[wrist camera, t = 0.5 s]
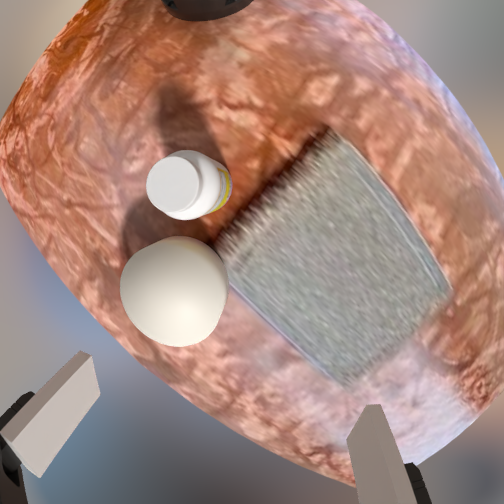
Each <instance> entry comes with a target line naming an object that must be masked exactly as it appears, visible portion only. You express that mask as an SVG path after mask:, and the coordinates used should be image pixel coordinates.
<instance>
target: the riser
mask: <svg viewBox="0 0 504 504" xmlns="http://www.w3.org/2000/svg"><path fill="white" fill-rule="evenodd" d="M120 294H121V299H122V303H123V306H124V308H125V311H126V313H127V315H128V317H129V318H130V320H131V321H132V322H133V324H134V325H135V326H136V327H137V328H138V329H139V330H140V331H141V332H142V333H143V334H145V335H146V336H148V337H149V338H151V339H152V340H154V341H156V342H159V343H162V344H165V345H169V346H176V347H180V346H189V345H193V344H196V343H198V342H200V341H202V340H203V339H205V338H206V337H207V336H208V335H210V333H211V332H212V331H213V330H214V328H215V327H216V325H217V323H218V320H219V318H220V316H221V313H222V311H223V308H224V306H225V303H226V301H227V298H228V294H229V279H228V274H227V271H226V268H225V266H224V264H223V262H222V260H221V259H220V257H219V256H218V255H217V253H216V252H215V251H214V250H213V249H212V248H210V247H209V246H208V245H207V244H205V243H203V242H202V241H200V240H197V239H195V238H192V237H187V236H171V237H167V238H164V239H162V240H160V241H158V242H156V243H154V244H151V245H149V246H147V247H145V248H143V249H141V250H139V251H138V252H136V253H135V254H134V255H133V256H132V257H131V258H130V259H129V260H128V262H127V263H126V265H125V267H124V269H123V272H122V275H121V280H120Z"/></svg>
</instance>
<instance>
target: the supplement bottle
mask: <svg viewBox="0 0 504 504" xmlns="http://www.w3.org/2000/svg"><path fill="white" fill-rule="evenodd" d="M146 190H147V194H148V197H149V199H150V201H151V202H152V204H153V205H154V206H155V207H157V208H158V209H159V210H161V211H163V212H164V213H165V214H167V215H168V216H170V217H172V218H175V219H180V220H191V219H195V218H198V217H200V216H203V215H205V214H208V213H211V212H213V211H216V210H218V209H219V208H221V207H222V206H223V205H224V204H225V203H226V202H227V201H228V199H229V197H230V195H231V192H232V179H231V176H230V174H229V172H228V170H227V169H226V168H225V167H224V166H223V165H222V164H220V163H219V162H217V161H215V160H213V159H211V158H209V157H208V156H206V155H204V154H202V153H200V152H197V151H193V150H181V151H177V152H174V153H172V154H170V155H168V156H167V157H165V158H163V159H161V160H159V161H158V162H157V163H156V164H155V165H154V166H153V167H152V168H151V170H150V172H149V174H148V177H147V181H146Z"/></svg>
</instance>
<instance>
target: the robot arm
mask: <svg viewBox="0 0 504 504" xmlns="http://www.w3.org/2000/svg"><path fill="white" fill-rule="evenodd" d="M252 1H253V0H162V3H163V4H164V6H165V8H166V9H167V11H168V12H169V13H170V14H171V15H173V16H174V17H176V18H179V19H182V20H187V21H208V20H214V19H218V18H222V17H225V16H228V15H231V14H234V13H236V12H238V11H240V10H242V9H243V8H245V7H246V6H248V5H249V4H250V3H251V2H252ZM99 396H100V390H99V386H98V382H97V378H96V374H95V370H94V365H93V360H92V355H89V354H87V353H84V352H82V351H79V352H78V353H77V354H76V355H75V356H74V357H73V358H72V359H71V360H70V361H69V362H68V363H66V365H65V366H63V367H62V368H61V369H60V370H59V371H58V372H57V373H56V374H55V375H54V376H53V377H52V378H51V379H50V380H49V381H48V382H47V383H46V384H45V385H44V386H43V387H42V388H41V389H40V390H39V391H38V392H37V393H36V394H34V393H33V392H28V393H26V394H24V395H22V396H21V397H20V398H19V399H18V400H17V401H16V403H14V404H13V405H12V406H11V408H9V409H8V410H7V411H6V412H5V413H4V414H3V415H2V416H1V417H0V504H28V501H27V497H26V492H25V487H24V481H23V475H22V469H21V467H20V464H21V463H23V464H24V466H25V467H26V468H27V469H28V470H29V471H31V472H32V473H33V474H35V475H36V476H38V477H39V478H40V477H41V476H42V474H43V473H44V471H45V470H46V469H47V467H48V466H49V464H50V463H51V461H52V460H53V459H54V457H55V456H56V454H57V453H58V451H59V450H60V449H61V447H62V446H63V444H64V443H65V442H66V440H67V439H68V438H69V436H70V435H71V433H72V432H73V431H74V429H75V428H76V427H77V425H78V424H79V422H80V421H81V420H82V418H83V417H84V416H85V414H86V413H87V412H88V410H89V409H90V408H91V406H92V405H93V404H94V402H95V401H96V400H97V398H98V397H99ZM346 440H347V445H348V449H349V454H350V458H351V463H352V467H353V472H354V477H355V482H356V487H357V492H358V497H359V502H360V504H432V503H431V500H430V497H429V494H428V492H427V489H426V488H425V483H424V481H423V480H422V479H423V478H422V475H421V473H420V470H419V469H418V468H417V467H416V466H415V465H414V464H413V462H412V463H407V464H404V463H403V461H402V458H401V455H400V452H399V450H398V447H397V445H396V442H395V439H394V437H393V434H392V432H391V429H390V427H389V424H388V422H387V419H386V417H385V414H384V412H383V409H382V407H381V405H380V404H376V405H366V407H365V408H364V410H363V412H362V414H361V416H360V417H359V419H358V421H357V423H356V424H355V426H354V428H353V429H352V431H351V433H350V434H349V436H348V437H347V439H346Z"/></svg>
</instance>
